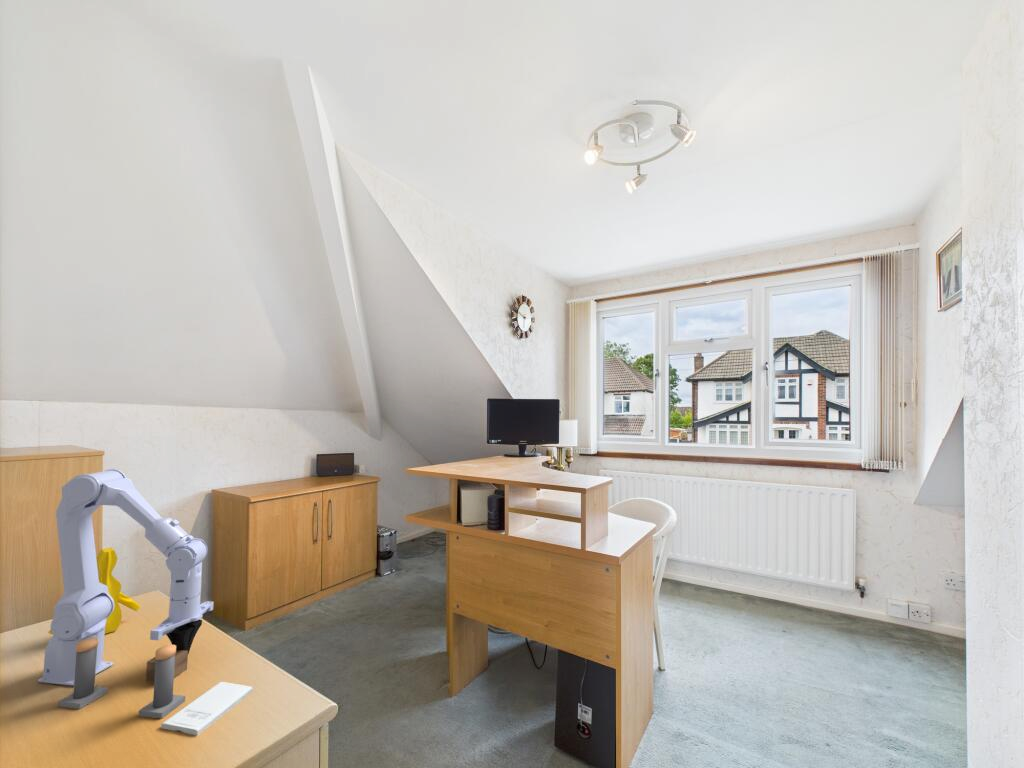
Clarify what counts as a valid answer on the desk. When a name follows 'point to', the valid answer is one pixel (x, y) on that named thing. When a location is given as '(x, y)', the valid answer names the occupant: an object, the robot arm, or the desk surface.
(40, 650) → the desk surface
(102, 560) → the figure statuette
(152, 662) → the walnut block
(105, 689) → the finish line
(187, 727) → the external hard drive
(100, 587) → the robot arm
